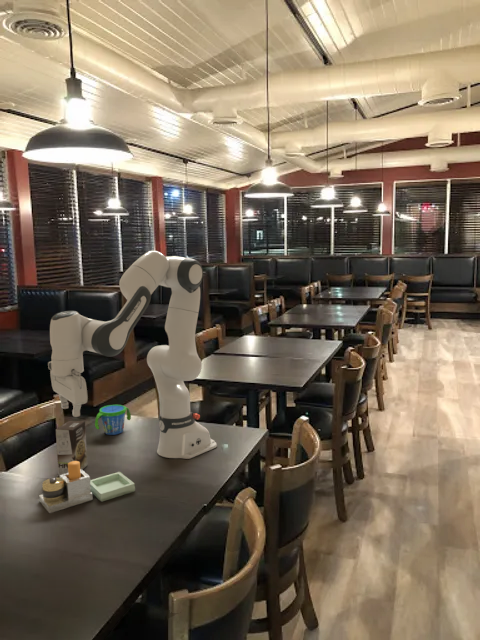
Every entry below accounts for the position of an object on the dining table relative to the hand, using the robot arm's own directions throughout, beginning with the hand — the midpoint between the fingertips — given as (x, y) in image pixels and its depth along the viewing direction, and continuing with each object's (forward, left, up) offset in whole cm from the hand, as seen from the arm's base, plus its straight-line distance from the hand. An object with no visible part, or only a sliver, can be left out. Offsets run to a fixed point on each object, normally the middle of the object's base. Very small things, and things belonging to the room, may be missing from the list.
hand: (70, 412), depth 159 cm
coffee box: (-7, -20, -27) cm, 34 cm away
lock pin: (0, 0, -25) cm, 25 cm away
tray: (-11, +2, -27) cm, 29 cm away
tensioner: (+3, 0, -27) cm, 27 cm away
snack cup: (-33, -45, -27) cm, 62 cm away
